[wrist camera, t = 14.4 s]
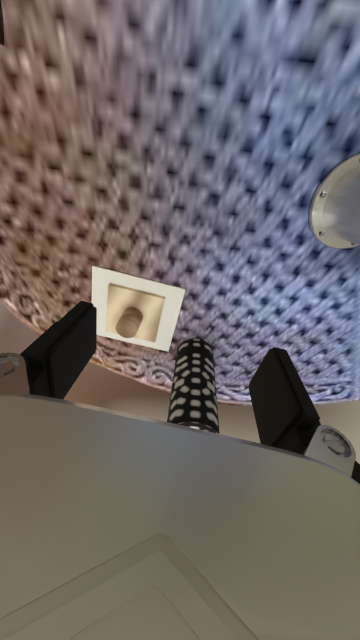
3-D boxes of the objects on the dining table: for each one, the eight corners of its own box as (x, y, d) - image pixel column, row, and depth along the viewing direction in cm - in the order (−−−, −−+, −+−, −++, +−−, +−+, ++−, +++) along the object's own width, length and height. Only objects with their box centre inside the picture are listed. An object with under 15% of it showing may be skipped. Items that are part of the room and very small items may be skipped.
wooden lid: (165, 296, 42) (160, 311, 37) (155, 339, 48) (150, 357, 43) (110, 283, 42) (97, 296, 37) (107, 328, 48) (96, 345, 42)
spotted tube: (215, 340, 48) (224, 425, 31) (210, 368, 52) (215, 455, 35) (178, 336, 48) (166, 418, 31) (175, 364, 52) (164, 449, 35)
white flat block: (185, 288, 42) (185, 289, 41) (168, 350, 50) (168, 351, 50) (93, 265, 41) (92, 265, 40) (91, 332, 49) (91, 333, 49)
